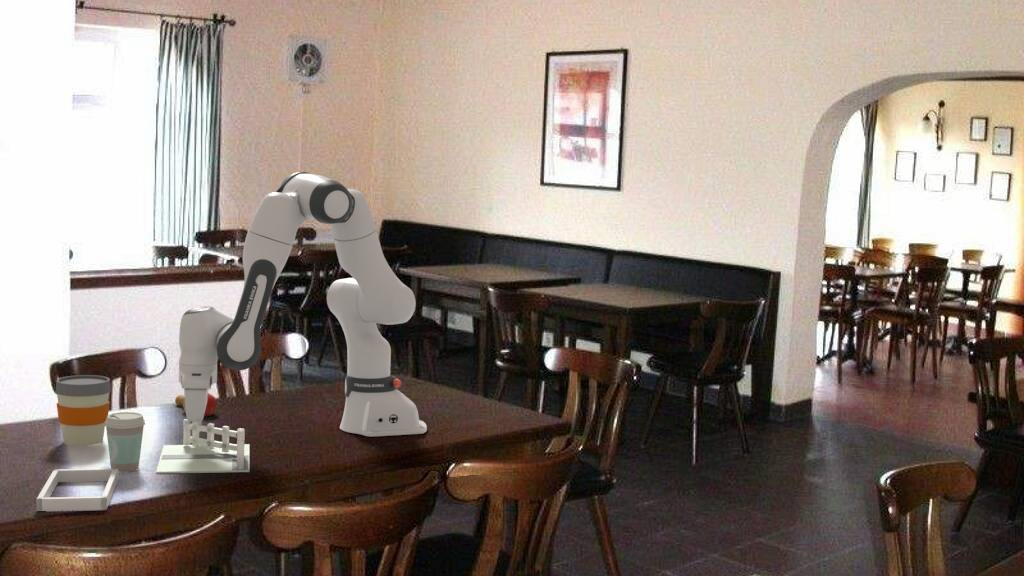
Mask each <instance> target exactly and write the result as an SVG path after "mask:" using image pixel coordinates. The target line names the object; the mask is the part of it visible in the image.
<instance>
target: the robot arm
mask: <svg viewBox="0 0 1024 576" xmlns="http://www.w3.org/2000/svg"><path fill="white" fill-rule="evenodd" d="M306 220H309V221H313V222H319V223H321V224H324V225H329V226H330V229H331V234H332V239H333V244H334V246H335V247H334V248H335V251H336V256H337V259H338V263H339V265H340V267H341V268H342V269H343V270H344V271H345V272H346V273H348V274H349V275H350V276H351V277H347V278H340V279H336V280H334V281H333V282H332V283H331V284H330V286H329V288H328V291H327V293H326V304H327V307H328V309H329V311H330V312H331V313H332V314H333V315H334V316H335V318H336V319H337V320H338V322H339V324H340V326H341V328H342V331H343V334H344V337H345V342H346V348H347V349H346V351H347V354H346V355H347V373H346V374H345V380H344V395H345V402H344V403H345V404H344V410H343V415H342V417H341V418H342V419H341V422H340V424H339V425H340V426H339V429H340V430H341V431H343V432H345V433H351V434H357V435H361V436H365V437H386V436H387V437H388V436H402V435H404V436H405V435H420V434H424V433H426V432H427V431H428V426H427V424H426V422H424V420H421V419H420V418H419V411H418V408H417V406H416V404H415V403H414V402H413V401H412V400H411V399H410V398H409V397H407V396H406V394H404V393H402V392H401V391H400V390H399V389H398V388H400V387H401V386H402V381H401V380H400V379H399V378H397V376H394V375H393V374H391V361H392V360H391V356H392V348H391V345H390V342H389V341H388V340H387V339H386V338H385V337H383V336H382V334H381V332H380V331H379V328H378V325H377V324H381V325H386V326H387V325H399V324H405V323H407V322H408V321H409V320H410V319H411V318H412V317H413V315H414V312H415V311H416V298H415V294H414V292H413V290H412V289H411V288H410V287H408V286H407V285H406V284H404V283H403V282H402V281H401V280H400V279H399V277H397V275H396V274H395V273H394V271H393V269H392V268H391V267H390V265H389V263H388V261H387V259H386V257H385V255H384V253H383V249H382V245H381V242H380V239H379V234H378V231H377V226H376V221H375V218H374V215H373V212H372V209H371V207H370V205H369V202H368V199H367V197H366V195H365V194H364V192H361V190H358V189H354V188H347V187H346V186H345V185H343V184H342V183H341V182H339V181H337V180H335V179H334V180H333V179H332V178H329V177H327V176H325V175H322V174H321V175H320V174H314V173H309V172H307V171H298V172H294V173H292V174H290V175H288V176H287V177H285V179H284V180H283V181H282V183H281V184H280V187H278V188H277V190H276V191H274V192H270V193H268V194H266V195H265V196H264V197H263V198H262V200H261V201H260V203H259V205H258V206H257V208H256V211H255V213H254V215H253V216H252V220H251V221H250V224H249V227H248V230H247V233H246V235H245V241H244V245H243V252H242V265H243V273H244V282H243V283H244V284H243V288H242V289H243V290H242V292H241V295H240V300H239V302H238V306H237V309H236V312H235V316H234V317H230V316H228V315H225V314H224V313H222V312H220V311H219V310H217V309H216V308H215V307H213V306H209V305H207V306H197V307H193V308H191V309H188V310H186V311H185V312H184V313H183V314H182V316H181V319H180V324H179V336H178V345H179V349H180V356H179V360H178V383H179V384H180V385H181V389H182V390H183V391H184V392H183V394H184V395H183V396H184V397H185V409H186V412H185V415H186V419H187V420H188V421H190V422H192V421H199V425H202V421H203V420H204V417H205V416H204V413H205V409H206V405H207V392H208V393H209V391H210V390H212V386H213V385H214V384H215V383H217V380H218V360H219V362H221V364H222V365H224V367H226V368H227V369H229V370H234V371H245V370H247V369H250V368H252V367H253V366H254V365H255V364H257V362H258V361H259V359H260V357H261V354H262V339H261V327H262V324H263V320H264V317H265V313H266V310H267V307H268V303H269V301H270V298H271V295H272V291H273V289H274V287H275V284H276V282H277V281H278V279H279V277H280V275H281V273H282V271H283V269H284V268H285V266H286V263H287V261H288V258H289V257H290V254H291V252H292V249H293V247H294V243H295V240H296V237H297V232H298V229H299V228H300V227H301V225H302V224H303V223H304V222H305V221H306ZM201 432H202V431H199V434H200V433H201Z"/></svg>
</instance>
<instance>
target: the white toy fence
mask: <svg viewBox="0 0 1024 576" xmlns="http://www.w3.org/2000/svg"><path fill="white" fill-rule="evenodd" d="M182 422H183V423H182V424H183V426H182V428H183V432H182V433H183V434H182V435H183V437H182V438H183V439H182V440H183V442H182V443H183V444H182V445H192V446H193V447H198V446H199V445H206V446H207V449H210V450H212V449H214V447H217V448H222V452H229V450H233V451H237V445H236V444H237V443H231V442H230V437H231V438H232V437H233V438H237V431H238V430H244V431H245V428H241V427H239V428H237V430H233V429H230V426H228V425H223V426H222V428H221V427H215V423H211V422H209V423H206V425H203V424H201V425H199V421H188V420H187V418H186V419H183V421H182ZM191 422H192V423H191ZM199 431H201V432H204V433H206V434H207V435H206V438H202V437H200V433H199ZM215 435H219V436H220V435H221V441H218V440H215ZM245 439H246V435H245V436H244V441H245Z"/></svg>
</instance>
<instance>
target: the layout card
mask: <svg viewBox="0 0 1024 576" xmlns="http://www.w3.org/2000/svg"><path fill="white" fill-rule="evenodd" d="M235 444H236V445H237V443H235ZM203 473H204V474H206V473H207V474H209V473H211V474H213V473H215V474H216V473H219V474H220V473H250V443H248V444H247V443H244V469H242V470H238V469H237V451H233V450H229V452H222V448H217V447H214V449H212V450H210V449H207V446H206V445H201V444H199V446H198V447H193V446H192V444H190V445H183V444H163V446H162V450H161V453H160V457H159V461H158V464H157V467H156V471H155V474H160V475H161V474H203Z"/></svg>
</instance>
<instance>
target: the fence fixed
mask: <svg viewBox="0 0 1024 576" xmlns="http://www.w3.org/2000/svg"><path fill="white" fill-rule="evenodd" d="M236 431H237V437H236V444H237V469H238V470H242V469H244V444H245V440H244V436H245V437H246V432H245V431H244V430H238V429H237V430H236Z"/></svg>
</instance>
